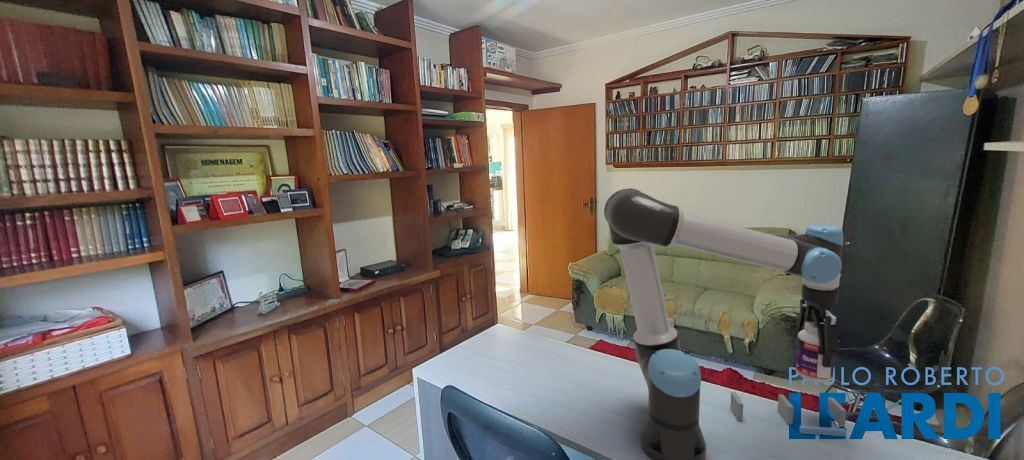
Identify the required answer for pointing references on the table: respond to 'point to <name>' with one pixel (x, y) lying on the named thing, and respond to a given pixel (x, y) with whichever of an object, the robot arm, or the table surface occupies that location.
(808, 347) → the pill bottle
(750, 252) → the robot arm
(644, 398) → the table surface
